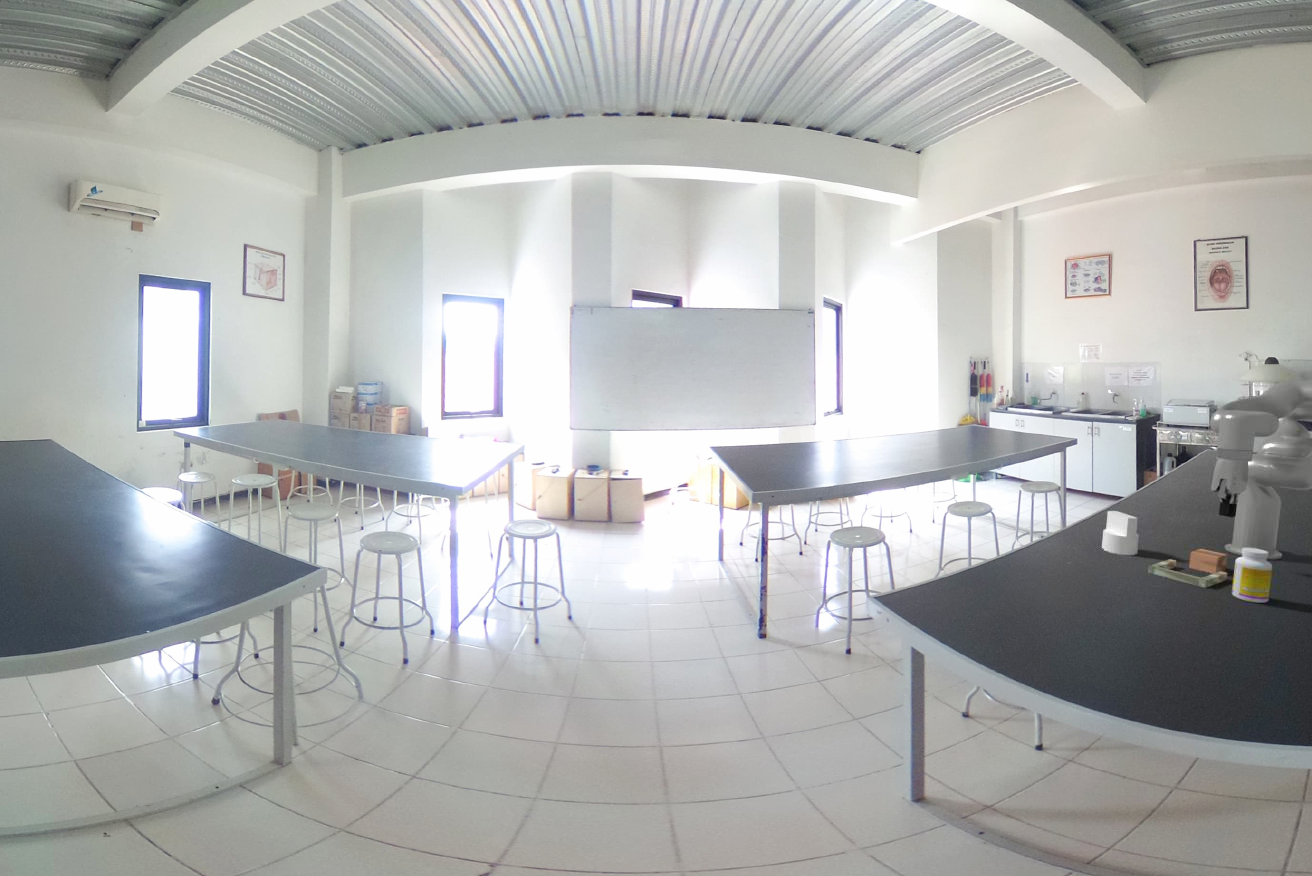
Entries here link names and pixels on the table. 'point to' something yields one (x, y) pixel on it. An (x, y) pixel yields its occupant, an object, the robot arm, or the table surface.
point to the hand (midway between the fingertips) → (1227, 515)
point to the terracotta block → (1208, 561)
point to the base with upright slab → (1120, 534)
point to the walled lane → (1164, 571)
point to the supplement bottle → (1252, 576)
